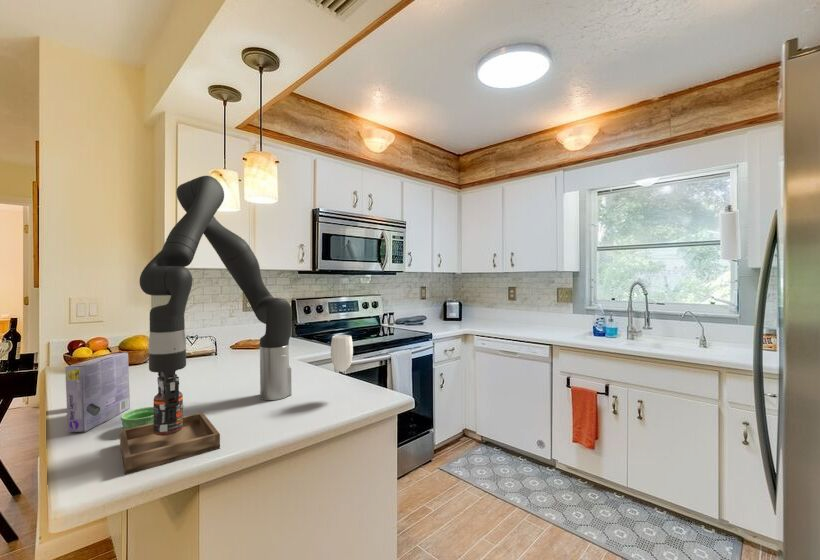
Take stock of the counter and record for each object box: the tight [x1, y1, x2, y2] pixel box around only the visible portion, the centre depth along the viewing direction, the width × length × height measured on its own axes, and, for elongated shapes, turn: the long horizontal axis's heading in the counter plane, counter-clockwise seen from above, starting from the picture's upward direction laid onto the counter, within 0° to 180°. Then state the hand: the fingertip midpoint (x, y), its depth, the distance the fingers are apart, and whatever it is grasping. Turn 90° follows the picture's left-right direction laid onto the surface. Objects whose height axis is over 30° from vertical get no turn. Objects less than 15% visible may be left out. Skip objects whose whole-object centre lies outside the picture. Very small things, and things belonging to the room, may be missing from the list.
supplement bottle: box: [153, 386, 184, 436], centre depth 90 cm, size 6×6×11 cm
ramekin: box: [120, 406, 154, 430], centre depth 101 cm, size 9×9×4 cm
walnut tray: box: [119, 412, 221, 476], centre depth 90 cm, size 18×18×4 cm
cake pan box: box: [64, 352, 131, 433], centre depth 107 cm, size 19×5×18 cm, turn 4°
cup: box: [330, 334, 354, 373], centre depth 124 cm, size 7×7×21 cm
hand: (168, 418), depth 90 cm, fingers closed on supplement bottle, 6 cm apart
